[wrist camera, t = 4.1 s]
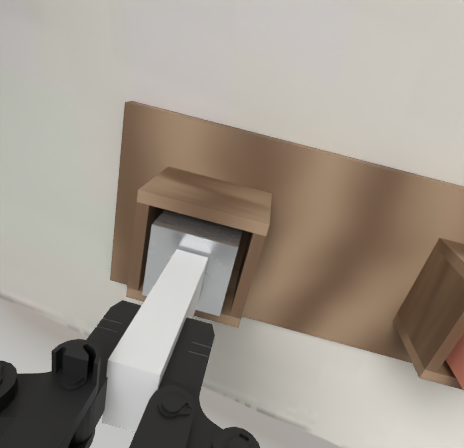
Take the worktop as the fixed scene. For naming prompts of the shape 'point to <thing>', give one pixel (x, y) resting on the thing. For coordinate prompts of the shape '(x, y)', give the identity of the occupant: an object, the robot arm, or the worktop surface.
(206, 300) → the steel plug
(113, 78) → the worktop surface
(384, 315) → the socket panel
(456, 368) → the salmon pink plug
